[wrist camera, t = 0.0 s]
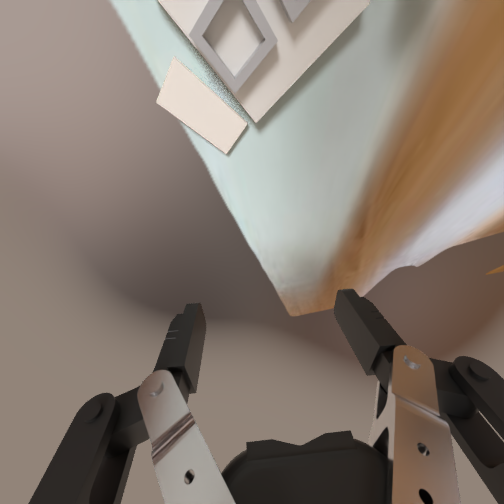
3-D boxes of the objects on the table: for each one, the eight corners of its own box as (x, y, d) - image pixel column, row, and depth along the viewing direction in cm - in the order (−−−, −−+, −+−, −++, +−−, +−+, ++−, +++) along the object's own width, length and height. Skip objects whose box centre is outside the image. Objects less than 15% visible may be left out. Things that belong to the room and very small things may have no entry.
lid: (157, 100, 28) (156, 102, 28) (174, 55, 25) (173, 56, 25) (226, 152, 35) (226, 154, 34) (247, 122, 32) (247, 123, 31)
